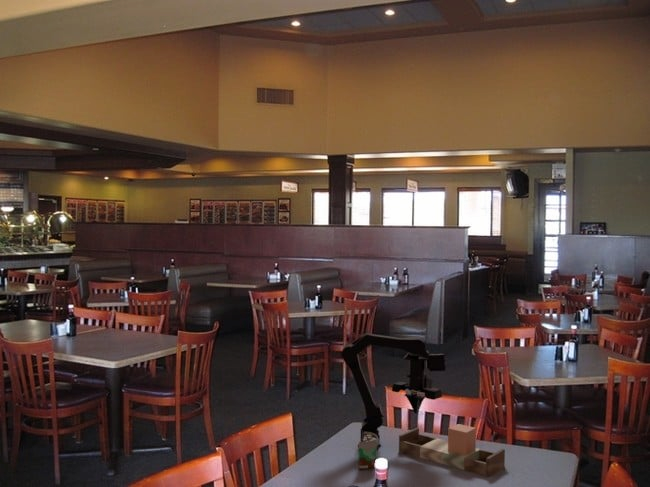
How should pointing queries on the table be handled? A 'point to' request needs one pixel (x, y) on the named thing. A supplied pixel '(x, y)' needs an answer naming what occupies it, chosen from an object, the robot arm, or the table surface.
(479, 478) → the table surface
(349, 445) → the table surface
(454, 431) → the terracotta block
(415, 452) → the track
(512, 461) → the table surface
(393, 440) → the table surface
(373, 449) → the food container
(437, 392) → the robot arm
